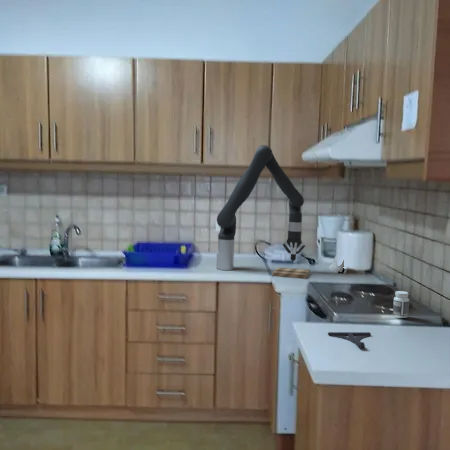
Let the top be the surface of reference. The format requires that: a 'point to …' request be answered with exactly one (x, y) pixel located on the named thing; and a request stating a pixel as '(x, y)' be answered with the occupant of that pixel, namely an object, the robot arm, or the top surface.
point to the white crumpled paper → (336, 267)
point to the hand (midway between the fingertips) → (293, 260)
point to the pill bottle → (401, 303)
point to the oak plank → (294, 270)
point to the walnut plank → (290, 274)
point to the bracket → (352, 337)
